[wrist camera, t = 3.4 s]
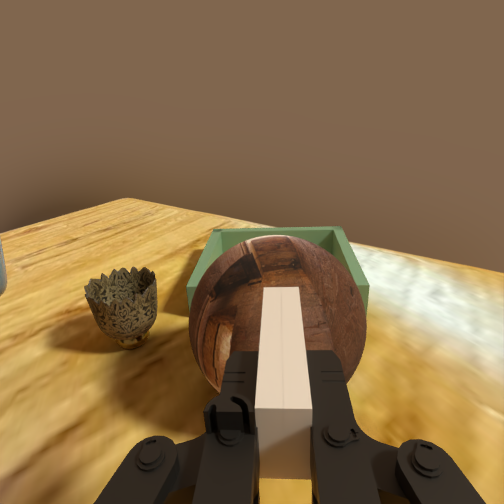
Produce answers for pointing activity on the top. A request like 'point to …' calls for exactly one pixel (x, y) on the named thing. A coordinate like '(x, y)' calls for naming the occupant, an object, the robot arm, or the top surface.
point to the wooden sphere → (251, 299)
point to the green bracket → (321, 236)
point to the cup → (124, 305)
